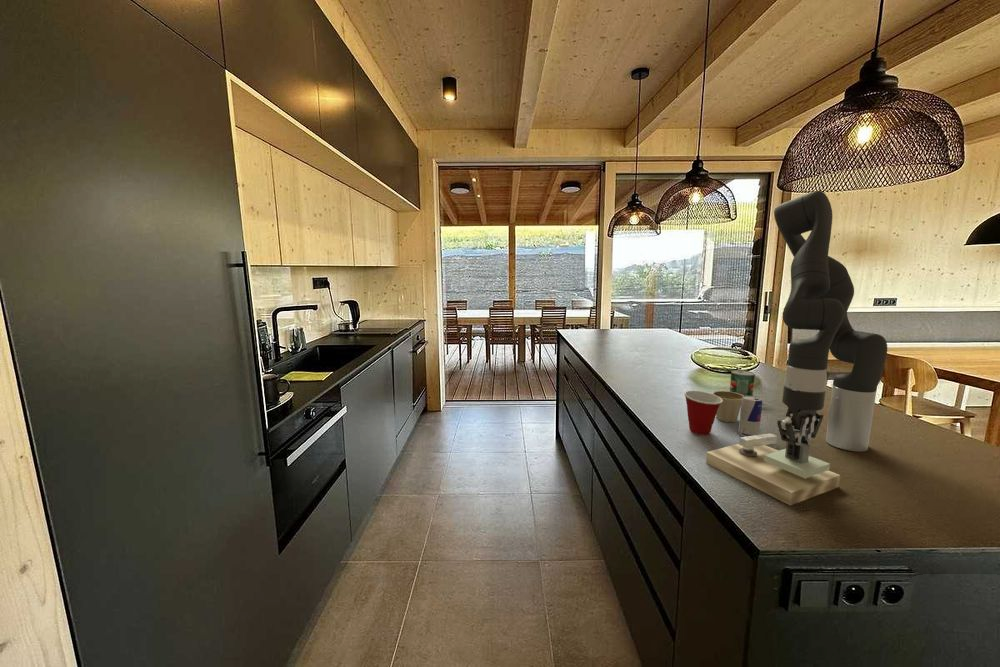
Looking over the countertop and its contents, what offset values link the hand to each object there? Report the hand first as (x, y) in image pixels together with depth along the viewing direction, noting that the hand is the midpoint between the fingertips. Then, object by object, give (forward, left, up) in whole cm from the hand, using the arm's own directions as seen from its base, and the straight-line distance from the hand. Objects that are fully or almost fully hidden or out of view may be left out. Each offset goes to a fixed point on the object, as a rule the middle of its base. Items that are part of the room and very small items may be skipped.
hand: (796, 456), depth 91 cm
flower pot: (-24, -35, -7) cm, 43 cm away
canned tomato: (-48, -47, -7) cm, 68 cm away
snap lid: (0, 0, -2) cm, 2 cm away
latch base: (0, -6, -7) cm, 9 cm away
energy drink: (-18, -23, -7) cm, 30 cm away
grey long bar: (-3, -11, -3) cm, 12 cm away
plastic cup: (-7, -31, -7) cm, 33 cm away
